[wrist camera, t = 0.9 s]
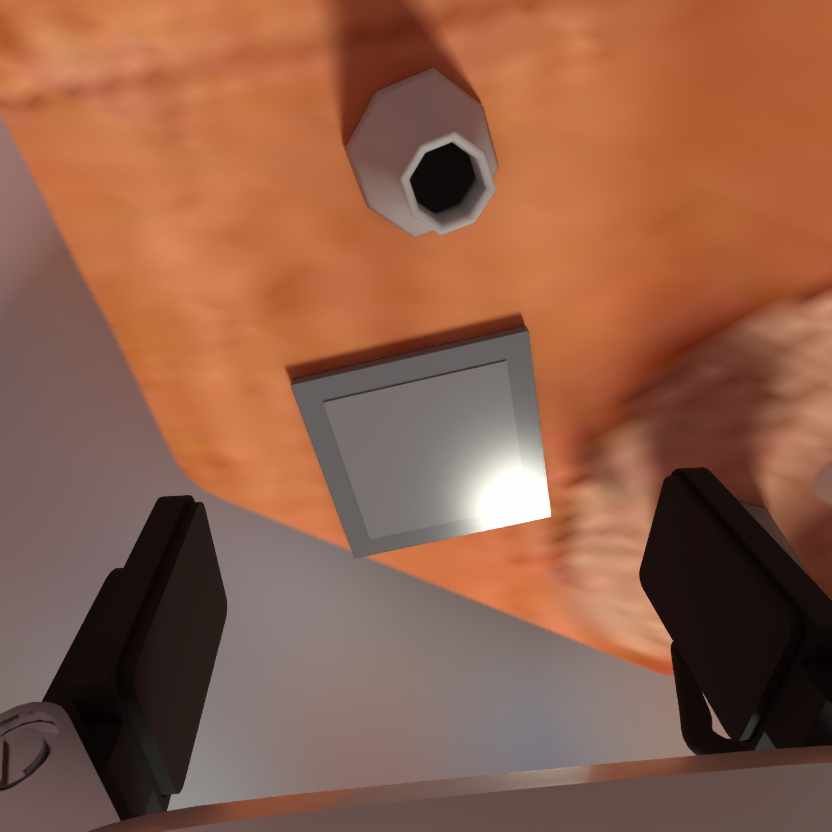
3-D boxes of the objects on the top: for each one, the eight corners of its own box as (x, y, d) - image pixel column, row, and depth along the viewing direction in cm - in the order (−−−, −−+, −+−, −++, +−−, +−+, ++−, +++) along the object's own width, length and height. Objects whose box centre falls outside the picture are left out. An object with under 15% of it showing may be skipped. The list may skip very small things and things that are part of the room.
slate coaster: (525, 325, 33) (529, 331, 32) (547, 509, 39) (551, 517, 39) (292, 379, 33) (290, 386, 32) (354, 550, 40) (354, 559, 39)
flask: (522, 169, 28) (590, 201, 20) (411, 261, 30) (428, 326, 22) (436, 34, 25) (472, 0, 17) (318, 144, 27) (295, 167, 18)
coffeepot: (812, 483, 40) (1095, 728, 25) (786, 577, 45) (1010, 833, 29) (600, 515, 40) (747, 781, 25) (596, 606, 45) (718, 877, 29)
